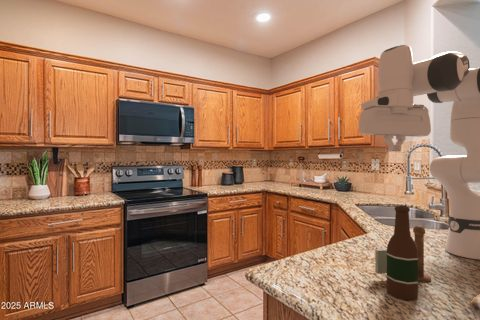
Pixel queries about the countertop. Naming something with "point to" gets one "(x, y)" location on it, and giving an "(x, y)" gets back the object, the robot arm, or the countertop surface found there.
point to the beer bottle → (402, 259)
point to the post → (420, 253)
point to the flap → (381, 261)
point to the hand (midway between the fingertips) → (394, 151)
